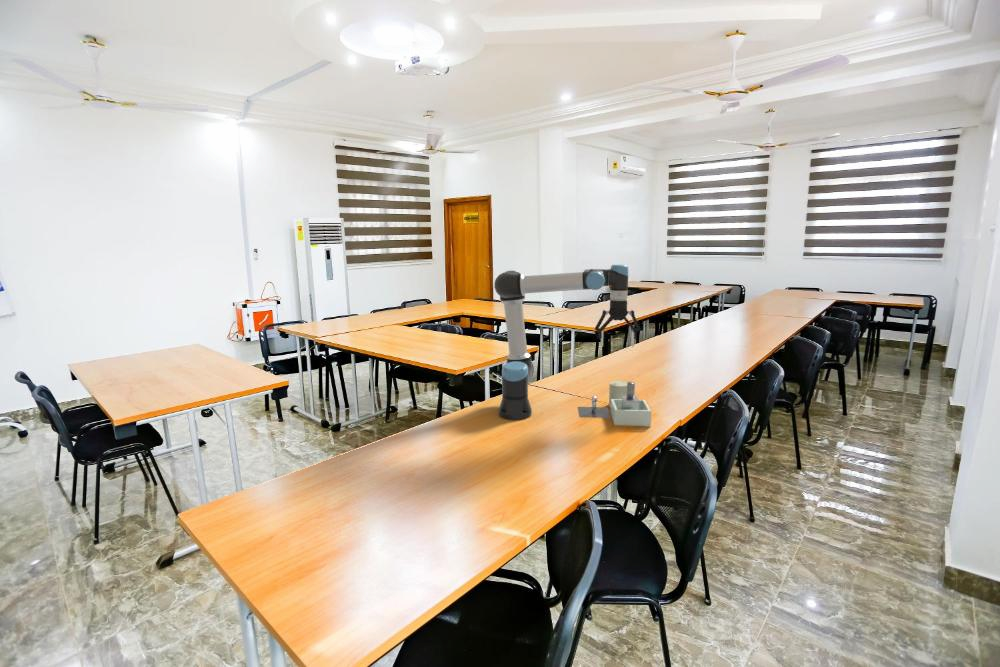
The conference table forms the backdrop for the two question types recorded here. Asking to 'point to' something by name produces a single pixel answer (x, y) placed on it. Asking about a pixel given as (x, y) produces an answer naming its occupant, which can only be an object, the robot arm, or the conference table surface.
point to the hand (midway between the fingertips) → (617, 346)
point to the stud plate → (595, 415)
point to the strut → (630, 398)
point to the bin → (631, 414)
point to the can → (617, 390)
